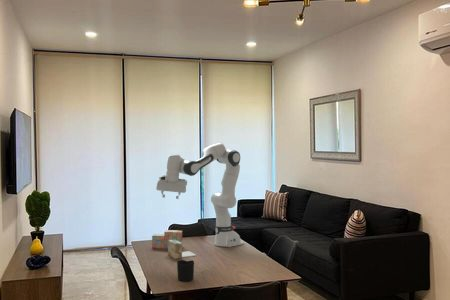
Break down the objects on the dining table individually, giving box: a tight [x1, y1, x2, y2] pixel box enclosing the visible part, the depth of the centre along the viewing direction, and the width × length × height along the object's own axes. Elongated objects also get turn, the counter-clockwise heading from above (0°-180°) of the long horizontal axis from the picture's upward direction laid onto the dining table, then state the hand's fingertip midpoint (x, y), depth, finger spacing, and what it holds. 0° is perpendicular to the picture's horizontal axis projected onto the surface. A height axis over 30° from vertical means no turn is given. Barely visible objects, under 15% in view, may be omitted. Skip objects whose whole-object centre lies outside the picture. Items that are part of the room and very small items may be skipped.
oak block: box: [167, 240, 183, 260], centre depth 292 cm, size 5×12×10 cm, turn 29°
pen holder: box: [176, 259, 195, 283], centre depth 241 cm, size 9×9×10 cm
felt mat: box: [181, 250, 197, 259], centre depth 296 cm, size 10×12×1 cm
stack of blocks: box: [151, 229, 183, 249], centre depth 317 cm, size 21×6×12 cm, turn 85°
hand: (170, 198), depth 297 cm, fingers open, 8 cm apart
